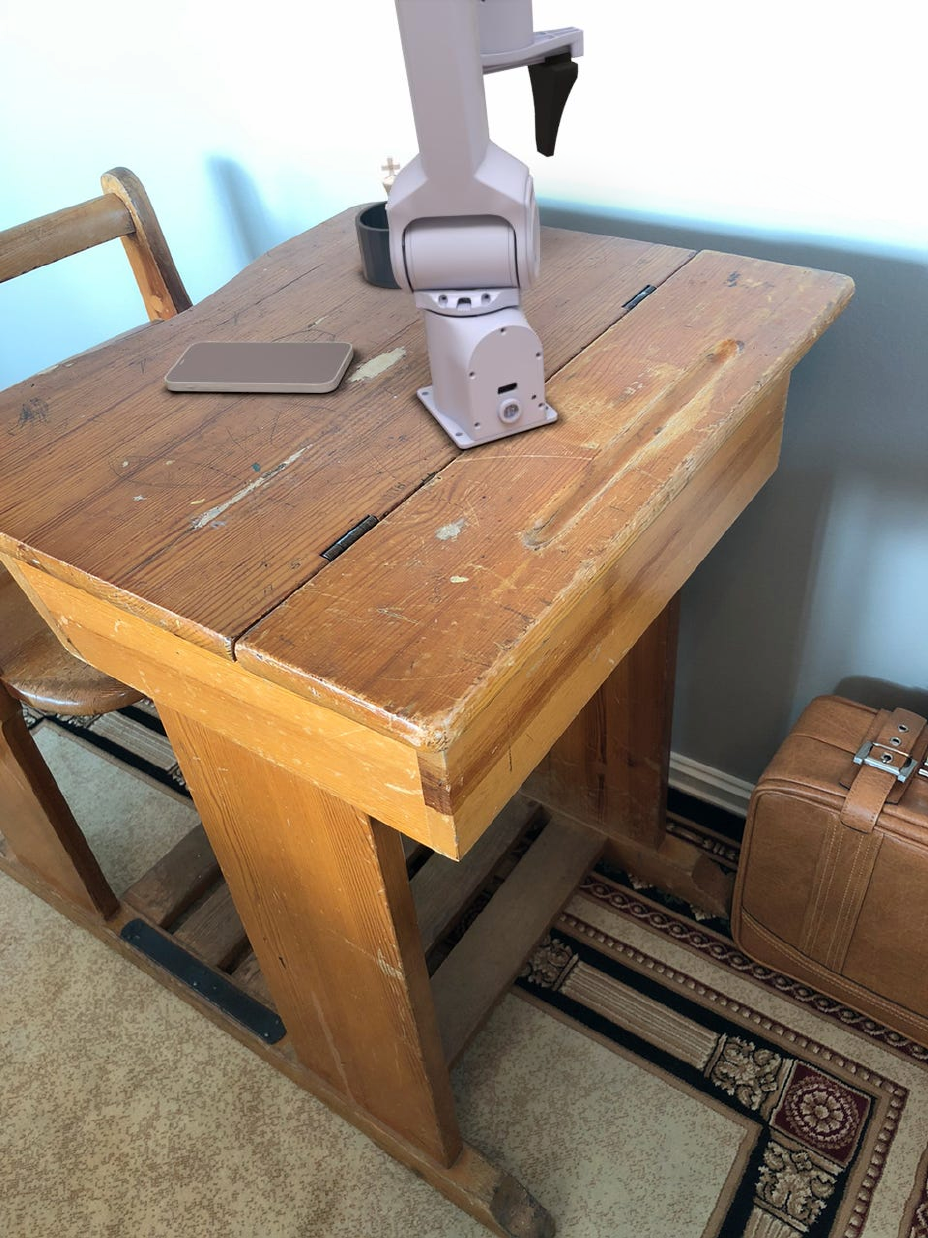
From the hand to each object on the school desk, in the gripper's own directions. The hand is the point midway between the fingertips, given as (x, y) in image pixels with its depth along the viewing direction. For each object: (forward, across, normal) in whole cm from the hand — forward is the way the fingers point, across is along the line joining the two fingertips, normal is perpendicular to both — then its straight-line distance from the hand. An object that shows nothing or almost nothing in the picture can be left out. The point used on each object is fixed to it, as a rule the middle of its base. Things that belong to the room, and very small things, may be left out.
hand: (506, 163), depth 85 cm
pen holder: (+10, +8, -8) cm, 15 cm away
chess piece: (+10, +8, -8) cm, 15 cm away
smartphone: (+10, +26, +5) cm, 28 cm away
